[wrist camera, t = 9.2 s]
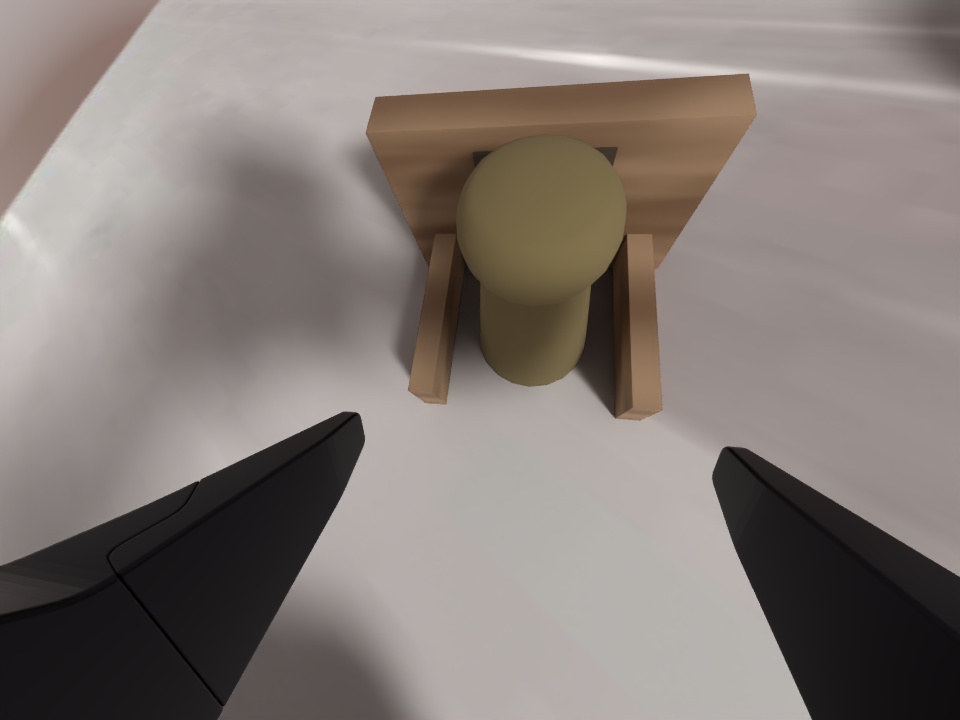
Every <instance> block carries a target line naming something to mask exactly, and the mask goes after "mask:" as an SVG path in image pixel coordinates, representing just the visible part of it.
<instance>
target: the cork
mask: <svg viewBox="0 0 960 720" xmlns="http://www.w3.org/2000/svg"><path fill="white" fill-rule="evenodd" d="M626 207H627V202H626V198H625V194H624V191H623V187H622V183H621V180H620V178H619V176H618V174H617V172H616V170H615V169H614V168H613V166H612V165H611V164H610V162H609V161H608V160H607V158H606V157H605V156H604V154H602V153H601V152H599V151H598V150H596V149H595V148H593V147H592V146H590V145H589V144H587V143H585V142H582V141H579V140H576V139H573V138H570V137H567V136H558V135H536V136H530V137H524V138H519V139H516V140H514V141H511V142H509V143H507V144H504V145H502V146H499V147H498V148H496V149H495V150H494V151H492V152H491V153H490V154H488V155H487V156H486V157H484V158H483V159H482V160H481V161H480V162H479V164H478V165H477V166H476V168H475V169H474V170H473V172H472V173H471V174H470V176H469V177H468V179H467V181H466V183H465V185H464V187H463V190H462V193H461V196H460V199H459V202H458V205H457V215H456V223H457V240H458V243H459V247H460V250H461V252H462V255H463V257H464V259H465V261H466V263H467V265H468V268H469V270H470V271H471V272H472V274H473V275H474V276H475V277H476V278H477V279H478V280H479V281H480V344H481V350H482V352H483V355H484V357H485V359H486V362H487V363H488V365H489V366H490V367H491V368H492V369H493V370H494V371H495V372H496V373H497V374H498V375H499V376H501V377H503V378H505V379H506V380H508V381H510V382H512V383H515V384H520V385H524V386H529V387H530V386H540V385H548V384H550V383H552V382H555V381H557V380H559V379H562V378H563V377H564V376H566V375H567V374H568V373H569V372H570V371H571V370H572V369H574V368H575V367H576V365H577V363H578V361H579V360H580V358H581V356H582V354H583V351H584V345H585V339H586V331H587V321H588V311H589V302H590V292H591V284H592V283H594V282H595V281H596V280H597V279H598V278H599V277H600V276H601V275H602V274H603V273H604V272H605V271H606V270H607V268H608V266H609V264H610V263H611V261H612V259H613V258H614V256H615V254H616V252H617V251H618V248H619V246H620V244H621V242H622V239H623V234H624V227H625V220H626Z"/></svg>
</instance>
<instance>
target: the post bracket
mask: <svg viewBox="0 0 960 720" xmlns="http://www.w3.org/2000/svg"><path fill="white" fill-rule="evenodd" d="M756 116H757V113H756V108H755V103H754V98H753V93H752V87H751V82H750V77H749V74H735V75H720V76H704V77H688V78H672V79H656V80H640V81H624V82H608V83H592V84H576V85H560V86H544V87H528V88H512V89H496V90H480V91H464V92H448V93H432V94H416V95H400V96H385V97H375V101H374V104H373V108H372V112H371V115H370V119H369V122H368V126H367V130H366V135H367V137H368V139H369V141H370V143H371V145H372V148H373V150H374V152H375V154H376V156H377V158H378V160H379V162H380V165H381V167H382V169H383V171H384V173H385V175H386V177H387V179H388V182H389V184H390V186H391V188H392V190H393V192H394V194H395V196H396V199H397V201H398V203H399V205H400V207H401V209H402V211H403V213H404V216H405V218H406V220H407V222H408V224H409V226H410V228H411V230H412V233H413V235H414V237H415V239H416V241H417V243H418V245H419V248H420V250H421V252H422V254H423V256H424V258H425V260H426V262H427V264H430V266H429V272H428V278H427V283H426V289H425V295H424V301H423V306H422V312H421V318H420V324H419V329H418V335H417V341H416V347H415V352H414V358H413V364H412V370H411V375H410V381H409V387H408V391H409V392H411V393H412V394H414V395H415V396H417V397H418V398H419V399H421V400H422V401H424V402H425V403H436V404H446V401H447V394H448V387H449V380H450V372H451V365H452V358H453V350H454V343H455V336H456V328H457V321H458V314H459V306H460V299H461V292H462V284H463V277H464V270H465V265H467V263H466V261H465V259H464V257H463V255H462V252H461V250H460V247H459V243H458V240H457V223H456V215H457V205H458V202H459V199H460V196H461V193H462V190H463V187H464V185H465V183H466V181H467V179H468V177H469V176H470V174H471V173H472V172H473V170H474V169H475V168H476V166H477V165H478V164H479V162H480V161H481V160H482V159H483V158H484V157H486V156H487V155H488V154H490V153H491V152H492V151H494V150H495V149H496V148H498V147H499V146H502V145H504V144H507V143H509V142H511V141H514V140H516V139H519V138H524V137H530V136H536V135H558V136H567V137H570V138H573V139H576V140H579V141H582V142H585V143H587V144H589V145H590V146H592V147H593V148H595V149H596V150H598V151H599V152H601V153H602V154H604V156H605V157H606V158H607V160H608V161H609V162H610V164H611V165H612V166H613V168H614V169H615V170H616V172H617V174H618V176H619V178H620V180H621V183H622V187H623V191H624V194H625V198H626V202H627V207H626V220H625V227H624V234H623V239H622V242H621V244H620V246H619V248H618V251H617V252H616V254H615V256H614V258H613V259H612V261H611V263H610V264H609V266H608V268H613V304H614V363H615V418H617V419H629V420H642V419H644V418H646V417H649V416H651V415H653V414H655V413H657V412H660V411H662V410H663V409H662V392H661V376H660V359H659V342H658V325H657V309H656V292H655V275H654V268H658V267H659V265H660V264H661V262H662V261H663V259H664V258H665V256H666V255H667V253H668V252H669V250H670V248H671V247H672V245H673V244H674V242H675V241H676V239H677V238H678V236H679V235H680V233H681V231H682V230H683V228H684V227H685V225H686V224H687V222H688V221H689V219H690V218H691V216H692V214H693V213H694V211H695V210H696V208H697V207H698V205H699V204H700V202H701V201H702V199H703V197H704V196H705V194H706V193H707V191H708V190H709V188H710V187H711V185H712V184H713V182H714V180H715V179H716V177H717V176H718V174H719V173H720V171H721V170H722V168H723V167H724V165H725V164H726V162H727V160H728V159H729V157H730V156H731V154H732V153H733V151H734V150H735V148H736V147H737V145H738V143H739V142H740V140H741V139H742V137H743V136H744V134H745V133H746V131H747V130H748V128H749V126H750V125H751V123H752V122H753V120H754V119H755V117H756Z"/></svg>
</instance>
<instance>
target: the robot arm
mask: <svg viewBox="0 0 960 720" xmlns="http://www.w3.org/2000/svg"><path fill="white" fill-rule="evenodd" d="M364 443H365V435H364V430H363V425H362V420H361V416H360V415H359V414H358V413H356V412H341V413H339V414H337V415H335V416H333V417H331V418H329V419H327V420H325V421H323V422H321V423H318V424H316V425H314V426H312V427H310V428H308V429H306V430H304V431H302V432H300V433H297V434H295V435H293V436H291V437H289V438H287V439H285V440H283V441H281V442H279V443H276V444H274V445H272V446H270V447H268V448H266V449H264V450H262V451H260V452H258V453H255V454H253V455H251V456H249V457H247V458H245V459H243V460H241V461H239V462H237V463H234V464H232V465H230V466H228V467H226V468H224V469H222V470H220V471H218V472H216V473H213V474H211V475H209V476H207V477H205V478H203V479H201V480H200V482H198V481H197V482H194V483H192V484H190V485H188V486H186V487H184V488H182V489H180V490H178V491H176V492H173V493H171V494H169V495H167V496H165V497H163V498H160V499H158V500H156V501H154V502H152V503H150V504H147V505H145V506H143V507H140V508H138V509H136V510H134V511H131V512H129V513H127V514H124V515H122V516H120V517H117V518H115V519H113V520H110V521H108V522H106V523H103V524H101V525H99V526H96V527H94V528H92V529H89V530H87V531H85V532H82V533H80V534H77V535H75V536H73V537H70V538H68V539H66V540H63V541H61V542H59V543H56V544H54V545H51V546H49V547H47V548H44V549H42V550H40V551H37V552H35V553H33V554H30V555H28V556H26V557H23V558H21V559H18V560H15V561H13V562H10V563H8V564H5V565H2V566H0V720H217V719H218V717H219V716H220V714H221V712H222V710H223V706H224V705H225V704H226V703H227V701H228V699H229V697H230V695H231V694H232V692H233V690H234V688H235V686H236V685H237V683H238V681H239V679H240V677H241V676H242V674H243V672H244V670H245V669H246V667H247V665H248V663H249V661H250V660H251V658H252V656H253V654H254V652H255V651H256V649H257V647H258V645H259V644H260V642H261V640H262V638H263V636H264V635H265V633H266V631H267V629H268V627H269V626H270V624H271V622H272V620H273V618H274V617H275V615H276V613H277V611H278V610H279V608H280V606H281V604H282V602H283V601H284V599H285V597H286V595H287V593H288V592H289V590H290V588H291V586H292V584H293V583H294V581H295V579H296V577H297V576H298V574H299V572H300V570H301V568H302V567H303V565H304V563H305V561H306V559H307V558H308V556H309V554H310V552H311V551H312V549H313V547H314V545H315V543H316V542H317V540H318V538H319V536H320V534H321V533H322V531H323V529H324V527H325V525H326V524H327V522H328V520H329V518H330V517H331V515H332V513H333V511H334V509H335V508H336V506H337V504H338V502H339V500H340V498H341V496H342V494H343V492H344V490H345V488H346V486H347V483H348V481H349V479H350V476H351V474H352V472H353V469H354V467H355V465H356V463H357V460H358V458H359V456H360V453H361V451H362V449H363V446H364ZM712 480H713V485H714V488H715V491H716V494H717V497H718V500H719V503H720V506H721V509H722V512H723V515H724V518H725V521H726V524H727V527H728V530H729V533H730V536H731V539H732V542H733V544H734V547H735V550H736V552H737V554H738V557H739V559H740V561H741V563H742V566H743V568H744V570H745V572H746V575H747V577H748V579H749V581H750V583H751V586H752V588H753V590H754V592H755V594H756V597H757V599H758V601H759V603H760V606H761V608H762V610H763V612H764V614H765V617H766V619H767V621H768V623H769V625H770V628H771V630H772V632H773V634H774V637H775V639H776V641H777V643H778V645H779V648H780V650H781V652H782V654H783V656H784V659H785V661H786V663H787V665H788V668H789V670H790V672H791V674H792V676H793V679H794V681H795V683H796V685H797V687H798V690H799V692H800V694H801V696H802V699H803V701H804V703H805V705H806V707H807V710H808V712H809V714H810V716H811V718H812V720H960V577H959V576H957V575H956V574H954V573H952V572H951V571H949V570H947V569H946V568H944V567H942V566H941V565H939V564H937V563H936V562H934V561H932V560H931V559H929V558H927V557H926V556H924V555H923V554H921V553H919V552H918V551H916V550H914V549H913V548H911V547H909V546H908V545H906V544H904V543H903V542H901V541H899V540H898V539H896V538H894V537H893V536H891V535H889V534H888V533H886V532H884V531H883V530H881V529H879V528H878V527H876V526H874V525H873V524H871V523H869V522H868V521H866V520H864V519H863V518H861V517H859V516H858V515H856V514H854V513H853V512H851V511H849V510H848V509H846V508H844V507H843V506H841V505H839V504H838V503H836V502H834V501H833V500H831V499H829V498H828V497H826V496H825V495H823V494H821V493H820V492H818V491H816V490H815V489H813V488H811V487H810V486H808V485H806V484H805V483H803V482H801V481H800V480H798V479H796V478H795V477H793V476H791V475H790V474H788V473H786V472H785V471H783V470H781V469H780V468H778V467H776V466H775V465H773V464H771V463H770V462H768V461H766V460H765V459H763V458H761V457H760V456H758V455H756V454H755V453H753V452H751V451H750V450H748V449H746V448H740V447H729V446H727V447H724V448H723V449H722V451H721V453H720V455H719V458H718V460H717V463H716V466H715V468H714V471H713V475H712Z"/></svg>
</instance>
